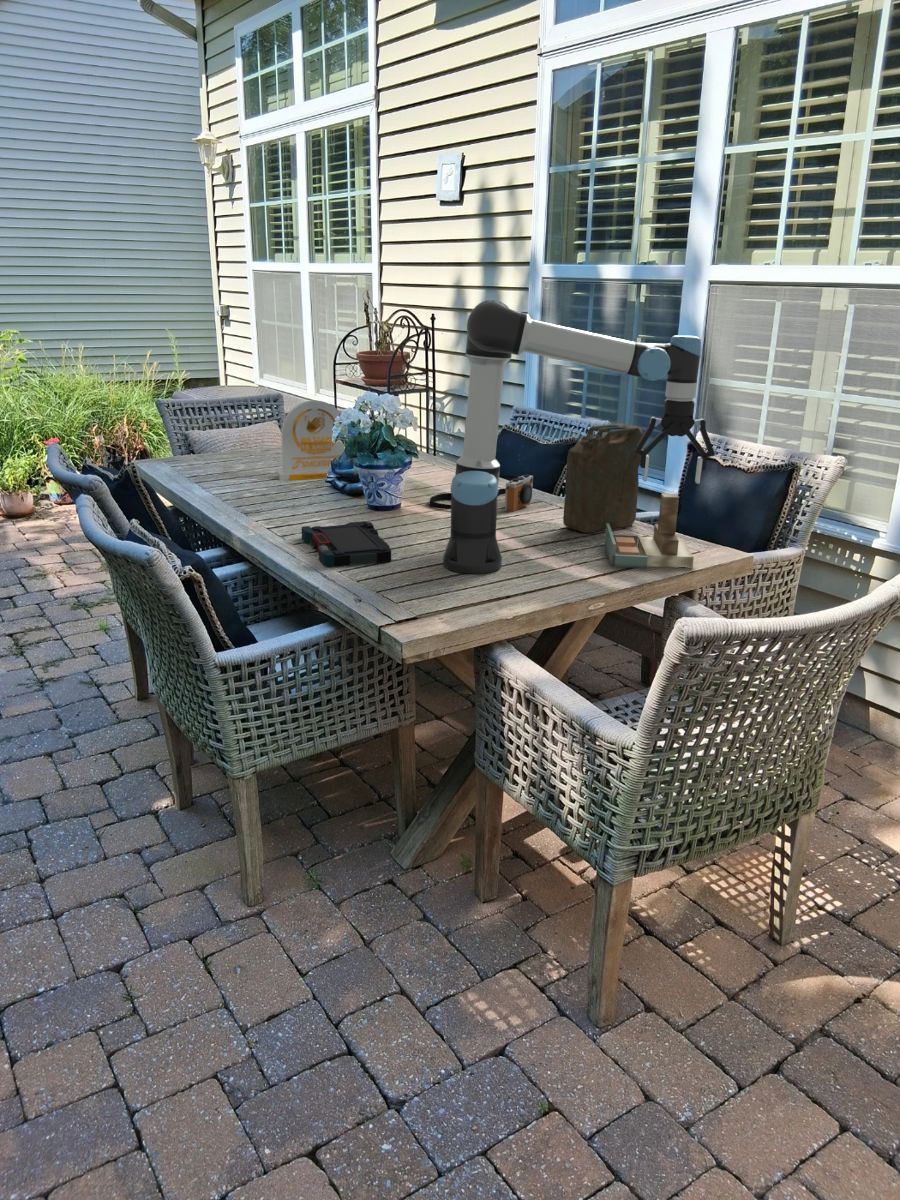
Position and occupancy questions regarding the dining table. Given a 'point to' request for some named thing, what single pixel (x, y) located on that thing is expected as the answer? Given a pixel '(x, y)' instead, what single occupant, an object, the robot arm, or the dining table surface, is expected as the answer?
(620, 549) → the tile front
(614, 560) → the box
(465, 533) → the robot arm
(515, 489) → the camera
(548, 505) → the dining table surface
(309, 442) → the award
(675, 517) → the t-shaped wooden block
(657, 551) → the beige slotted plate
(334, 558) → the electronic device
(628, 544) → the tile back
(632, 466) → the container
